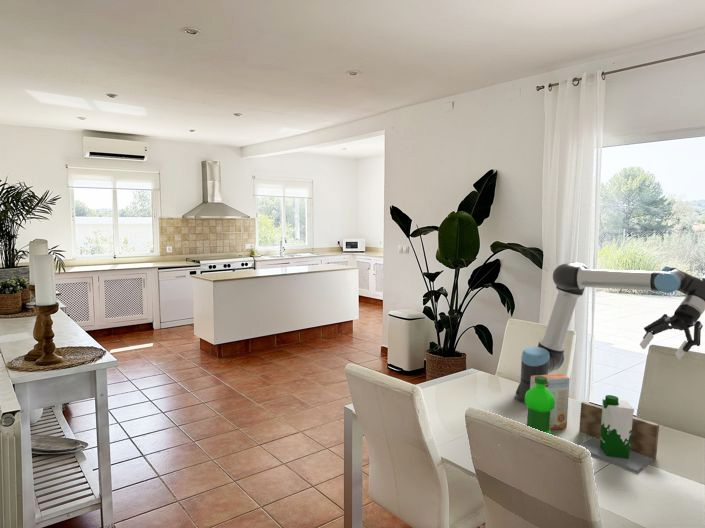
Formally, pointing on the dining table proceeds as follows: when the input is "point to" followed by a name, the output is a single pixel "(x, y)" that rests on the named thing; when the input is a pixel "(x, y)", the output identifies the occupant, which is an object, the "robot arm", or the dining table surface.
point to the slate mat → (632, 464)
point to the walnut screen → (641, 435)
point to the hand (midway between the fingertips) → (658, 351)
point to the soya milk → (616, 427)
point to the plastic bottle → (539, 405)
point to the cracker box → (557, 398)
